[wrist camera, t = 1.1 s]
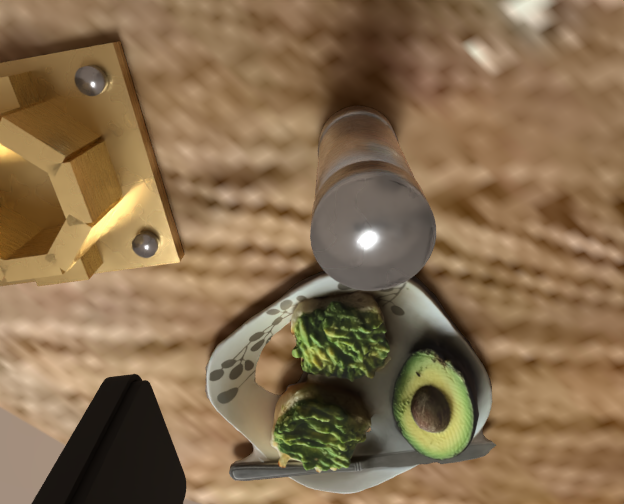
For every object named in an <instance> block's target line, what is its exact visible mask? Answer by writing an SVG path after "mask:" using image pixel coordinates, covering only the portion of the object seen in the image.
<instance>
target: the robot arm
mask: <svg viewBox="0 0 624 504" xmlns="http://www.w3.org/2000/svg"><path fill="white" fill-rule="evenodd" d="M185 493H186V478H185V474H184V472H183V469H182V466H181V464H180V461H179V458H178V456H177V453H176V450H175V448H174V445H173V442H172V440H171V437H170V434H169V432H168V429H167V427H166V424H165V421H164V419H163V416H162V413H161V411H160V408H159V405H158V403H157V400H156V397H155V395H154V392H153V389H152V387H151V385H150V383H149V382H148V381H146V380H145V381H142V379H141V377H139V376H138V375H136V374H132V375H123V376H115V377H108V378H106V379H105V380H104V382H103V383H102V385H101V386H100V388H99V390H98V391H97V393H96V395H95V397H94V398H93V400H92V402H91V403H90V405H89V407H88V408H87V410H86V412H85V414H84V415H83V417H82V419H81V420H80V422H79V424H78V426H77V427H76V429H75V431H74V432H73V434H72V436H71V437H70V439H69V441H68V443H67V444H66V446H65V448H64V450H63V451H62V453H61V454H60V456H59V458H58V460H57V461H56V463H55V465H54V467H53V468H52V470H51V472H50V473H49V475H48V477H47V478H46V480H45V482H44V484H43V485H42V487H41V489H40V491H39V492H38V494H37V495H36V497H35V499H34V501H33V502H32V504H183V501H184V498H185Z"/></svg>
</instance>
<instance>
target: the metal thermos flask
mask: <svg viewBox="0 0 624 504" xmlns="http://www.w3.org/2000/svg"><path fill="white" fill-rule="evenodd" d="M310 238H311V246H312V250H313V253H314V256H315V258H316V260H317V262H318V263H319V265H320V266H321V268H322V269H323V270H324V271H325V272H326V273H327V274H328V275H329V276H330V277H331V278H333V279H334V280H335V281H337V282H339V283H340V284H342V285H345V286H347V287H350V288H353V289H357V290H363V291H378V290H385V289H389V288H392V287H395V286H398V285H400V284H402V283H404V282H406V281H408V280H409V279H410V278H412V277H413V276H415V275H416V274H417V273H418V272H419V271H420V270H421V269H422V268H423V266H424V265H425V264H426V262H427V261H428V259H429V258H430V255H431V253H432V251H433V248H434V245H435V239H436V224H435V219H434V216H433V213H432V211H431V208H430V206H429V204H428V202H427V200H426V198H425V196H424V194H423V191H422V189H421V187H420V186H419V184H418V183H417V181H416V180H415V178H414V176H413V173H412V171H411V169H410V167H409V165H408V163H407V161H406V158H405V156H404V154H403V152H402V150H401V148H400V145H399V143H398V139H397V137H396V134H395V132H394V130H393V128H392V126H391V124H390V123H389V121H388V120H387V119H386V117H385V116H384V115H382V114H381V113H380V112H378V111H377V110H375V109H373V108H370V107H366V106H351V107H346V108H344V109H341V110H340V111H338V112H336V113H335V114H333V115H332V116H331V117H330V118H329V119H328V120H327V122H326V123H325V125H324V126H323V128H322V130H321V133H320V137H319V145H318V168H317V180H316V192H315V201H314V205H313V210H312V221H311V235H310Z"/></svg>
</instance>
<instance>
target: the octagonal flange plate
mask: <svg viewBox="0 0 624 504" xmlns="http://www.w3.org/2000/svg"><path fill="white" fill-rule="evenodd" d="M183 256H184V252H183V248H182V245H181V242H180V238H179V235H178V232H177V228H176V225H175V222H174V218H173V215H172V212H171V208H170V205H169V202H168V198H167V195H166V192H165V188H164V185H163V182H162V178H161V175H160V172H159V168H158V165H157V162H156V158H155V155H154V152H153V148H152V145H151V142H150V138H149V135H148V132H147V128H146V125H145V122H144V118H143V115H142V112H141V108H140V105H139V102H138V98H137V95H136V92H135V88H134V85H133V82H132V78H131V75H130V72H129V68H128V65H127V62H126V58H125V55H124V52H123V48H122V45H121V42H120V41H118V42H113V43H107V44H102V45H96V46H91V47H85V48H80V49H74V50H68V51H63V52H57V53H52V54H46V55H41V56H35V57H30V58H24V59H19V60H13V61H8V62H2V63H0V286H5V285H13V284H20V283H28V282H35V281H36V283H37V285H38V286H44V285H51V284H59V283H66V282H74V281H81V280H89V279H90V278H91V276H92V275H93V274H95V273H102V272H110V271H117V270H125V269H132V268H140V267H147V266H155V265H162V264H170V263H177V262H180V261H181V259H182V258H183Z"/></svg>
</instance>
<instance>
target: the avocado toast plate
mask: <svg viewBox="0 0 624 504" xmlns="http://www.w3.org/2000/svg"><path fill="white" fill-rule="evenodd" d="M290 321H291V333H292V335H293V336H294V338H295V341H296V346H295V348H294V349H293V350H292V355H293V357H295V358H299V357H301V367H302V370H303V371H304V372H303V374H302V376H301V378H300V380H299V381H298V382H297V383H296V384H289V385H288V386H287V388H286V390H285V392H284V393H283V394H282V395H275V394H273V393H271V392H269V391H267V390H265V389H264V388H262V387H261V386H259V385H258V384H257V383H256V382H255V369H256V364H257V362H258V360H259V357H260V354H261V351H262V349H263V348H264V346H265V345H266V344H267V343H268V342H269V341H270V339H271V337H272V336H273V335H274V334H275V333H276V332H278V331H280V330H281V329H282V328H283V327H284V326H285V325H286V324H288V323H289V322H290ZM206 394H207V398H208V399H209V400H210V401H211V403H212V405H213V406H214V407H215V409H216V410H217V411H218V412H219V413H220V414H221V415H222V416H223V417H224V418H225V419H226V420H227V421H228V422H229V423H231V424H232V425H233V426H234V427H235V428H236V429H237V430H238V431H240V432H241V433H242V434H243V435H244V436H245V437H246V438H247V439H248V440H249V441H250V442H251V443H252V445H253V448H254V449H253V452H252V453H251V454H250V455H249V456H247V457H245V458H244V459H241V460H239V461H236V462H234V463H233V464H231V467H230V471H229V474H230V476H231V477H232V478H233V479H234V480H240V481H249V480H260V479H270V478H280V477H290V478H291V479H293V480H295V481H296V482H298V483H300V484H302V485H304V486H306V487H309V488H312V489H316V490H321V491H327V492H334V493H356V492H360V491H363V490H365V489H367V488H370V487H373V486H375V485H378V484H380V483H382V482H384V481H386V480H389V479H391V478H393V477H395V476H396V475H398V474H401V473H403V472H405V471H407V470H409V469H411V468H413V467H415V466H417V465H418V464H429V463H433V462H438V463H440V464H445V463H454V462H460V461H465V460H471V459H475V458H479V457H482V456H485V455H486V454H488V453H489V451H490V450H491V449H492V448H493V447H494V446H496V444H494V443H493V442H492V441H490V440H488V439H487V438H485V436H484V435H483V431H482V429H483V426H484V424H485V422H486V420H487V418H488V416H489V413H490V410H491V405H492V386H491V382H490V379H489V376H488V374H487V371H486V369H485V368H484V365H483V364H482V362H481V361H480V360H479V358H478V357H477V355H476V354H475V352H474V350H473V348H472V346H471V344H470V343H469V341H468V340H467V339H466V338H465V337H464V336H463V335H462V334H461V332H460V331H459V330H458V329H457V327H456V326H455V324H454V323H453V322H452V320H451V319H450V317H449V316H448V315H447V313H446V312H445V310H444V308H443V307H442V305H441V304H440V302H439V301H438V299H437V298H436V296H435V295H434V294H433V293H432V292H431V291H430V290H429V289H428V288H427V287H426V286H425V285H424V284H423V283H422V282H421V281H420V280H419V279H418V278H416V277H415V276H413V277H412V278H410V279H409V280H408V281H406V282H404V283H402V284H400V285H398V286H395V287H392V288H389V289H385V290H378V291H363V290H357V289H353V288H350V287H347V286H345V285H342V284H340V283H339V282H337V281H335V280H334V279H333V278H331V277H330V276H329V275H328V274H327V273H326V272H325V271H323V272H320V273H317V274H315V275H312V276H310V277H308V278H306V279H304V280H302V281H300V282H298V283H296V284H295V285H294V286H293V287H292V288H291V289H290V290H289V291H288V292H287V293H286V294H285V295H284V296H282V297H281V298H280V299H278V300H277V301H276V302H274V303H273V304H271V305H270V306H268V307H267V308H265V309H263V310H262V311H260V312H259V313H258V314H256V315H254V316H252V317H251V318H250V319H248V320H247V321H246V322H245V323H244V324H243V325H242V326H240V327H239V328H237V329H236V330H235V331H234V332H233V333H231V334H230V335H229V336H228V337H227V338H226V339H225V340H223V341H221V342H220V343H219V344H218V345H217V346H216V348H215V350H214V351H213V352H212V355H211V358H210V361H209V362H208V364H207V366H206ZM370 427H371V431H370V432H366V431H367V430H368V429H369V428H370Z"/></svg>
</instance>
